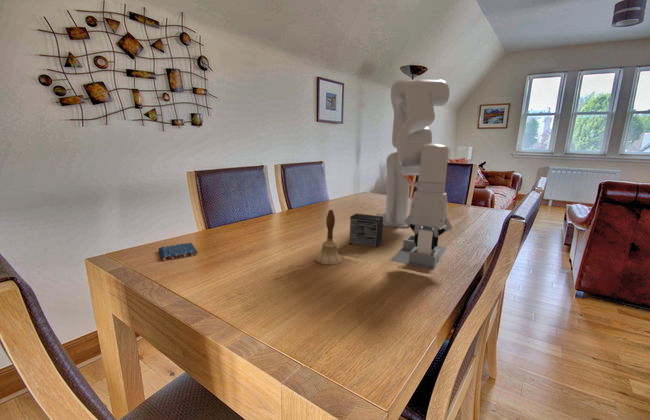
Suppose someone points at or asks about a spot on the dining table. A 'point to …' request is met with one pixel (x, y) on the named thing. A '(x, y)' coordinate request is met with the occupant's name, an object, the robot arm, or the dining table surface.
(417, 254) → the panel
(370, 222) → the small box
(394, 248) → the dining table surface
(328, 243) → the hand bell
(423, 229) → the plug
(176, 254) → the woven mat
